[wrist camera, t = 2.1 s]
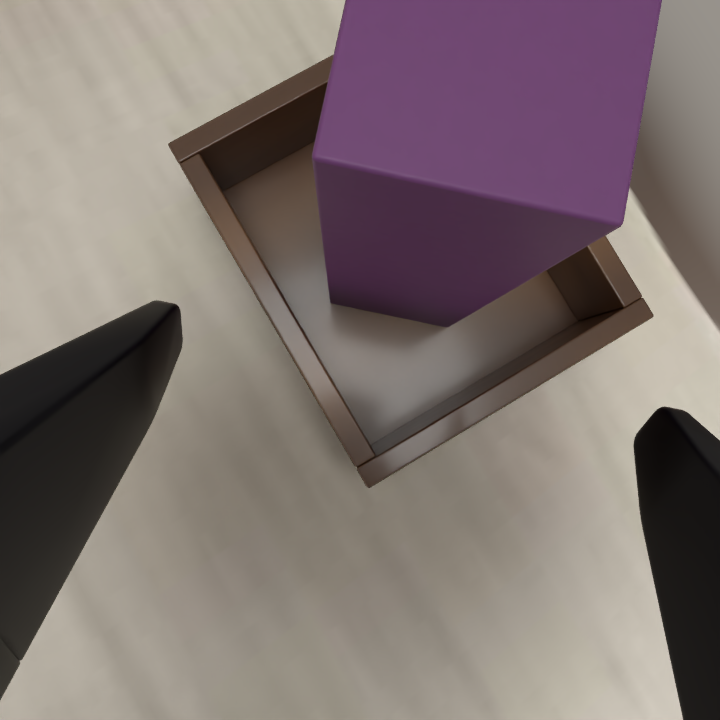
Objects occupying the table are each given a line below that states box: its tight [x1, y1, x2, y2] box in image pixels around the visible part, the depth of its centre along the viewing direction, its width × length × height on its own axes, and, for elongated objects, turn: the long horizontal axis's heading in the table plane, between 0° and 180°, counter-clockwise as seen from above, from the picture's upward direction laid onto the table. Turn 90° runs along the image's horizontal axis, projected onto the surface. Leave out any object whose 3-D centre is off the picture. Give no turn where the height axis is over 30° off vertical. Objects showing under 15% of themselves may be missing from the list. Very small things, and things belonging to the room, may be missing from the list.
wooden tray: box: [168, 55, 653, 488], centre depth 19 cm, size 14×12×4 cm
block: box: [312, 0, 662, 327], centre depth 14 cm, size 5×5×13 cm
